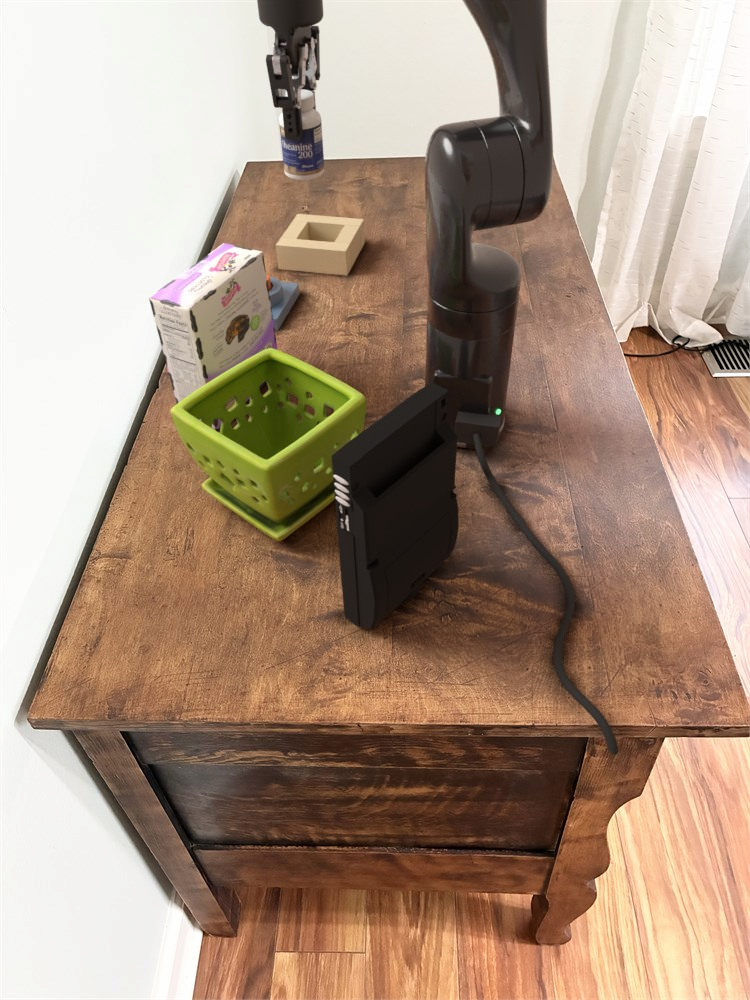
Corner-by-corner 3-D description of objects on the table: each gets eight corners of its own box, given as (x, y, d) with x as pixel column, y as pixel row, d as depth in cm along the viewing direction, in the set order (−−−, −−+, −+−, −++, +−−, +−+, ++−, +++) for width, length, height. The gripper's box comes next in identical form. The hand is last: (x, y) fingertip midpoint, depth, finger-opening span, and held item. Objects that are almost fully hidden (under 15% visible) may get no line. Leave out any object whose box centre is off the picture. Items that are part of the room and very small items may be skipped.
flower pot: (190, 501, 80) (163, 406, 71) (283, 436, 87) (270, 342, 78) (282, 565, 73) (265, 469, 64) (375, 489, 81) (371, 393, 72)
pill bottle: (278, 179, 99) (269, 99, 93) (293, 163, 103) (285, 85, 96) (316, 183, 98) (310, 103, 91) (330, 167, 102) (325, 88, 95)
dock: (347, 275, 114) (346, 251, 111) (278, 269, 116) (275, 244, 113) (364, 243, 122) (363, 218, 119) (299, 237, 124) (297, 213, 121)
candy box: (244, 359, 99) (223, 239, 87) (282, 370, 97) (265, 250, 85) (178, 418, 90) (144, 294, 79) (217, 432, 88) (189, 307, 77)
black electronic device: (421, 543, 75) (426, 378, 61) (458, 565, 73) (472, 399, 59) (339, 618, 69) (323, 453, 55) (377, 645, 67) (370, 481, 52)
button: (267, 295, 104) (265, 284, 103) (245, 293, 105) (243, 282, 104) (274, 284, 106) (273, 273, 105) (253, 282, 107) (251, 271, 106)
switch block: (278, 330, 104) (275, 307, 101) (223, 324, 105) (219, 301, 103) (299, 293, 111) (297, 271, 108) (248, 288, 112) (245, 266, 110)
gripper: (276, -41, 90) (290, 109, 102) (233, -13, 81) (255, 150, 93) (336, -40, 89) (343, 113, 101) (300, -11, 79) (313, 154, 91)
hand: (301, 130), depth 97 cm, fingers closed on pill bottle, 5 cm apart
